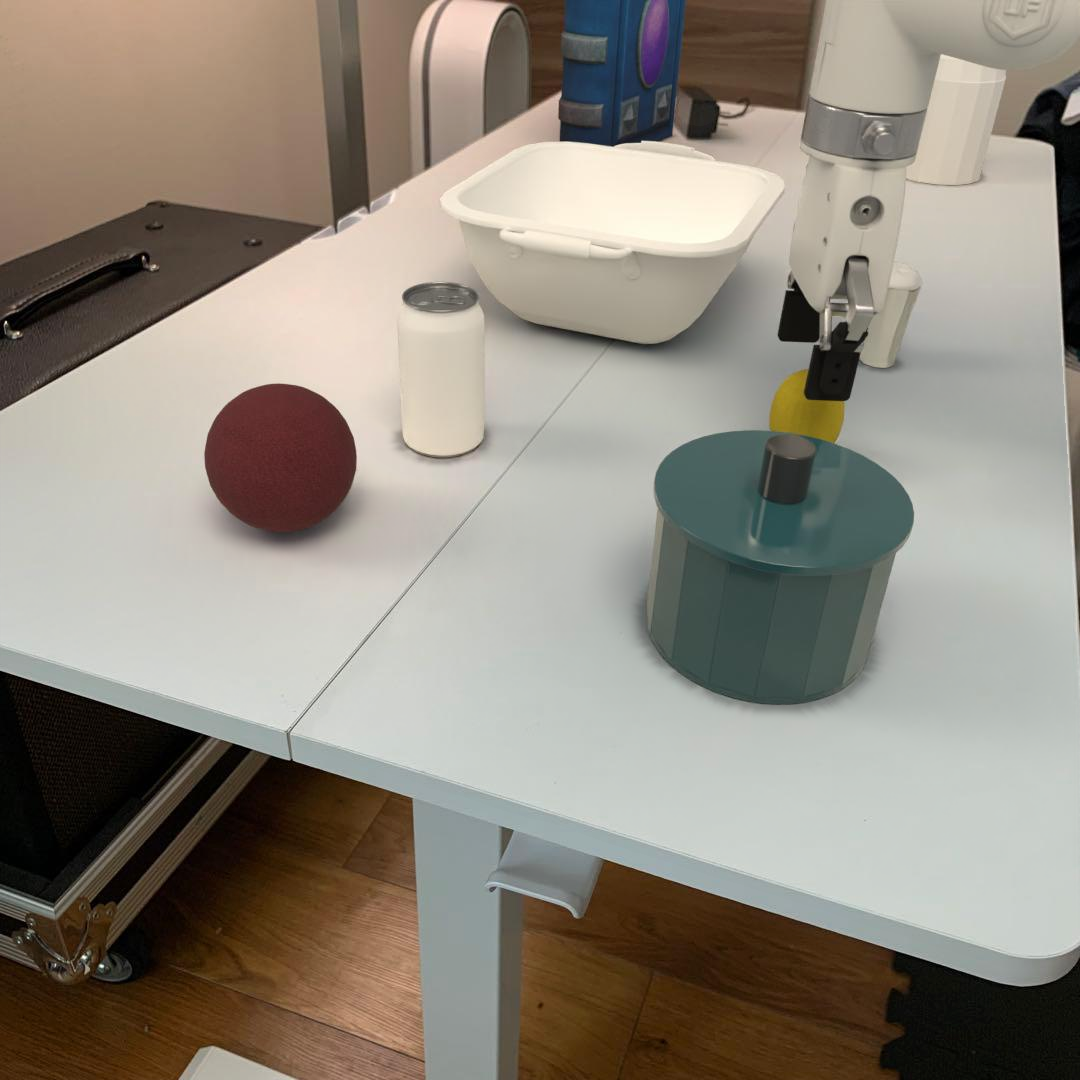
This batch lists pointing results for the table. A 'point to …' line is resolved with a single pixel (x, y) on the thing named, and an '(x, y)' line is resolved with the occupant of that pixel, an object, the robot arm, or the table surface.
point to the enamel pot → (759, 623)
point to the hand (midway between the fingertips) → (811, 368)
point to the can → (441, 368)
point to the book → (619, 70)
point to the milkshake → (892, 318)
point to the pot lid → (783, 502)
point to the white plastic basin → (610, 233)
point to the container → (957, 123)
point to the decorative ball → (280, 457)
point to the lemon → (804, 411)
